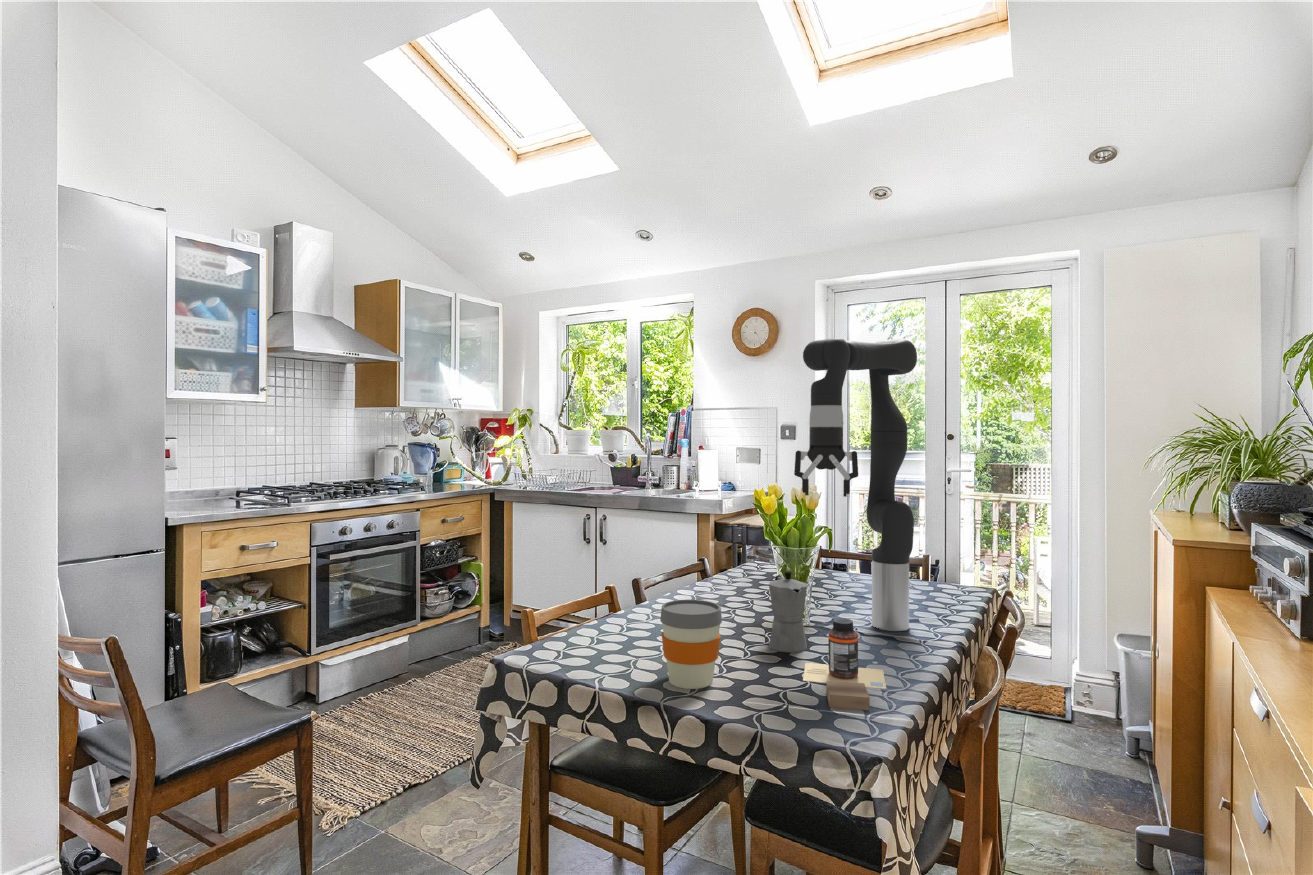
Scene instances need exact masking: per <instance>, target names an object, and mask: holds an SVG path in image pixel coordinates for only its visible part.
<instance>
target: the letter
mask: <svg viewBox="0 0 1313 875" xmlns="http://www.w3.org/2000/svg"><path fill="white" fill-rule="evenodd" d="M802 681H803V682H810V683H811V682H813V683H822V684H823V683H825V684H826V681H839V682H854V683H864V684H865V687H866V688H870V689H871V688H872V689H873V688H874V689H882V690H887V684H886V680H885V674H884V670H883V669H877V668H867V667H858V675H857V676H856V677H855V678H851V679H841V678H837V677H834V676H832V675H831V674H830V673H829V664H825V663H823V664H822V663H813V662H812V663H811V662H805V665H804V671H803V678H802Z"/></svg>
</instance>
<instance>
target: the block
mask: <svg viewBox="0 0 1313 875" xmlns="http://www.w3.org/2000/svg"><path fill="white" fill-rule="evenodd" d="M825 686H826V687H825V688H826V690H825V691H826V692H825V694H826V699H827V703H828V706H829V708H831V709H845V710H846V709H847V710H860V711H870V699H871V698H870V695H869V692H868V690H867V687H865V684H864V683H854V682H839V681H826V683H825Z"/></svg>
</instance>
